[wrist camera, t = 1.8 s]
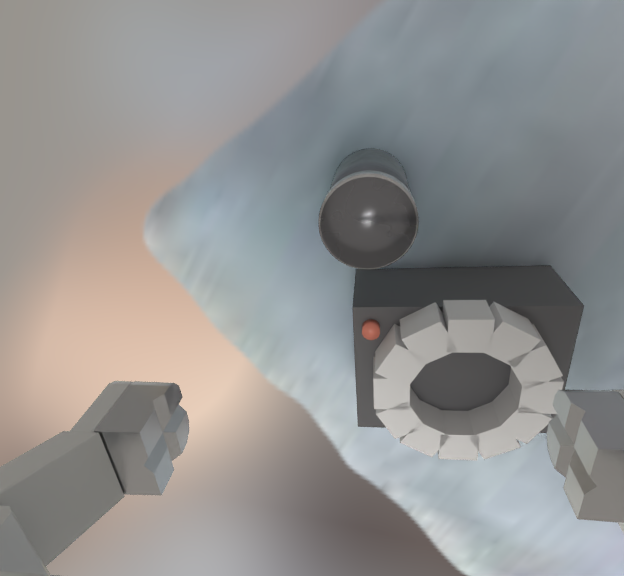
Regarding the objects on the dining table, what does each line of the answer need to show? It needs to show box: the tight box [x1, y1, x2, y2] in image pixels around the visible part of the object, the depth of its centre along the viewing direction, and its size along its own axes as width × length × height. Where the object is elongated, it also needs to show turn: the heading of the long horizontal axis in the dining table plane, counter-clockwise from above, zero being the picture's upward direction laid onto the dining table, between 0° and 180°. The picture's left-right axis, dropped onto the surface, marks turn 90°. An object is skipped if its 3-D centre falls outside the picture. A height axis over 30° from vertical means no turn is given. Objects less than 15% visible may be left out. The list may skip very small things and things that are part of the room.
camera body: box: [353, 266, 584, 460], centre depth 27 cm, size 12×10×7 cm
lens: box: [319, 148, 419, 269], centre depth 23 cm, size 5×5×7 cm
